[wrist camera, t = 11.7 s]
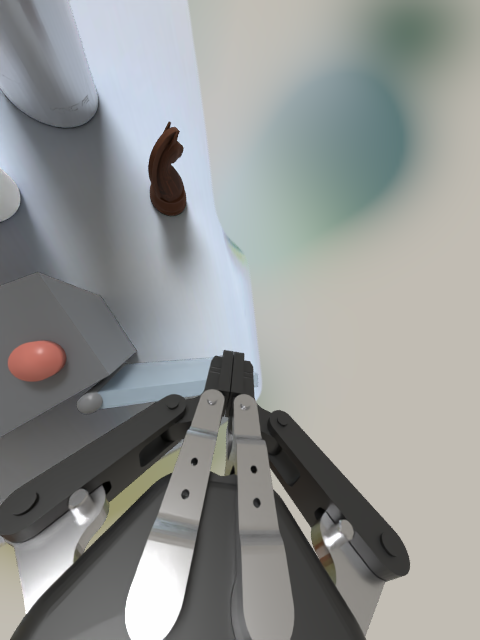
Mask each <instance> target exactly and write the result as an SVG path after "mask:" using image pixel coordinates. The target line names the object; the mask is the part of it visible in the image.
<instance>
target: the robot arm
mask: <svg viewBox="0 0 480 640" xmlns="http://www.w3.org/2000/svg"><path fill="white" fill-rule="evenodd" d="M0 88H1V90H2V91H3V93H4V94H5V95H6V96H7V98H8V99H9V100H10V101H11V102H12V103H13V104H14V105H15V106H16V107H17V108H18V109H20V110H21V111H22V112H24V113H25V114H27V115H28V116H30V117H31V118H33V119H35V120H38V121H40V122H42V123H45V124H48V125H51V126H56V127H63V128H64V127H76V126H80V125H83V124H84V123H86V122H88V121H89V120H90V119H91V118H92V117H93V116H94V114H95V113H96V111H97V107H98V94H97V91H96V87H95V84H94V81H93V78H92V74H91V71H90V68H89V65H88V61H87V58H86V55H85V52H84V48H83V45H82V41H81V38H80V35H79V32H78V29H77V26H76V22H75V19H74V16H73V13H72V10H71V6H70V3H69V0H0ZM233 353H234V355H233ZM253 378H254V375H253V366H252V364H251V362H250V361H244V353H239V352H233V351H227V350H224V352H223V357H220V356H215V357H214V358H213V359H212V360H211V364H210V368H209V372H208V376H207V380H206V384H205V389H204V391H203V393H202V394H201V395H200V396H198V397H196V398H193V399H186V400H185V399H184V398H183V397H182V396H181V395H178V394H171V395H168V396H166V397H164V398H162V399H161V400H159V401H158V402H156V403H154V404H153V405H151V406H150V407H148V408H146V409H145V410H143V411H142V412H140V413H138V414H137V415H135V416H134V417H132V418H130V419H129V420H127V421H126V422H124V423H122V424H121V425H119V426H118V427H116V428H114V429H113V430H111V431H109V432H108V433H106V434H105V435H103V436H101V437H100V438H98V439H97V440H95V441H93V442H92V443H90V444H89V445H87V446H85V447H84V448H82V449H81V450H79V451H77V452H76V453H74V454H73V455H71V456H69V457H68V458H66V459H65V460H63V461H61V462H60V463H58V464H57V465H55V466H53V467H52V468H50V469H49V470H47V471H45V472H44V473H42V474H41V475H39V476H37V477H36V478H34V479H32V480H31V481H29V482H28V483H26V484H24V485H23V486H21V487H20V488H18V489H17V490H16V491H14V492H13V493H12V494H11V495H10V496H9V497H8V498H7V499H6V500H5V501H4V502H3V503H2V505H1V506H0V536H2V537H3V538H4V540H5V541H6V542H7V543H8V544H9V545H11V546H13V547H14V549H15V555H16V560H17V565H18V571H19V577H20V582H21V587H22V593H23V598H24V604H25V609H26V616H25V617H24V618H23V620H22V621H21V623H20V624H19V626H18V627H17V629H16V631H15V632H14V634H13V636H12V637H11V639H10V640H366V638H365V636H366V633H367V630H368V627H369V625H370V622H371V619H372V617H373V614H374V611H375V608H376V606H377V603H378V600H379V597H380V595H381V592H382V589H383V586H384V584H385V582H387V581H390V580H393V579H395V578H398V577H402V576H405V575H406V574H408V572H409V569H410V561H409V556H408V553H407V550H406V548H405V546H404V544H403V542H402V541H401V539H400V537H399V536H398V535H397V533H396V532H395V531H394V530H393V529H392V528H391V526H390V525H389V524H388V523H387V522H386V521H385V520H384V519H383V518H382V517H381V516H380V514H379V513H378V512H377V511H376V510H375V509H374V508H373V507H372V506H371V505H370V503H369V502H368V501H367V500H366V499H365V498H364V497H363V496H362V495H361V493H360V492H358V490H357V489H356V488H355V487H354V486H353V485H352V484H351V483H350V481H349V480H348V479H347V478H346V477H345V476H344V475H343V474H342V473H341V472H340V470H339V469H338V468H337V467H336V466H335V465H334V464H333V463H332V462H331V461H330V459H329V458H328V457H327V456H326V455H325V454H324V453H323V452H322V451H321V450H320V448H319V447H318V446H317V445H316V444H315V443H314V442H313V441H312V440H311V439H310V437H309V436H308V435H307V434H306V433H305V432H304V431H303V430H302V429H301V428H300V427H299V425H298V424H297V423H296V422H295V421H294V420H293V419H292V418H291V417H290V416H289V415H288V414H287V413H286V412H283V411H281V410H277V411H274V412H272V413H270V412H268V411H266V410H264V409H262V408H261V407H260V406H259V405H258V404H257V403H256V401H255V398H254V379H253ZM225 410H226V411H225ZM224 414H225V417H229V418H228V426H227V432H226V433H227V434H226V467H225V476H219V475H217V474H215V473H213V472H211V471H210V469H211V464H212V459H213V454H214V449H215V444H216V440H217V434H218V429H219V426H220V423H221V419H222V416H223V417H224ZM181 439H184V442H183V444H182V447H181V450H180V453H179V456H178V459H177V462H176V464H175V467H174V470H173V473H170V474H168V475H166V476H165V477H163V478H161V479H159V480H158V481H157V482H156V483H154V484H153V485H152V486H151V487H150V488H149V489H148V490H147V491H146V492H145V493H144V494H143V495H142V496H141V497H140V498H139V499H138V500H137V501H136V502H135V503H134V504H133V505H132V506H131V507H130V508H129V509H128V510H127V511H126V512H125V513H124V514H123V515H122V516H121V517H120V518H119V519H118V520H117V521H116V522H115V523H114V524H113V525H112V526H111V527H110V528H109V529H108V530H107V531H106V532H105V533H103V535H102V536H100V537H99V538H98V540H96V541H95V543H94V544H92V545H91V546H90V547H89V548H88V549H87V550H86V552H84V550H85V548H86V546H87V544H88V543H89V541H90V539H91V538H92V537H93V535H94V534H95V533H96V532H97V531H98V530H99V529H100V528H101V526H102V525H103V523H104V522H105V520H106V518H107V515H108V512H109V502H110V501H111V500H112V499H114V498H115V497H116V496H117V495H118V494H119V493H120V492H122V491H123V490H124V489H125V488H126V487H127V486H129V485H130V484H131V483H132V482H133V481H134V480H136V479H137V478H138V477H139V476H140V475H142V474H143V473H144V472H145V471H146V470H147V469H148V468H150V467H151V466H152V465H153V464H154V463H155V462H157V461H158V460H159V459H160V458H161V457H162V456H164V455H165V454H166V453H167V452H168V451H169V450H171V449H172V448H173V447H174V446H175V445H176V444H178V443H179V442H180V441H181ZM270 468H271V470H272V471H273V473H274V474H275V475H276V477H277V478H278V480H279V481H280V483H281V484H282V486H283V487H284V489H285V490H286V492H287V493H288V495H289V496H290V497H291V499H292V500H293V501H294V503H295V505H296V506H297V507H298V509H299V511H300V512H301V513H302V515H303V516H304V518H305V519H306V521H307V522H308V524H309V525H310V527H311V528H312V529H311V540H312V544H313V547H314V549H315V552H316V553H315V552H314V550H313V548H312V547H311V545H310V544H309V542H308V541H307V539H306V537H305V536H304V534H303V532H302V531H301V529H300V527H299V526H298V524H297V523H296V521H295V519H294V518H293V516H292V515H291V513H290V511H289V510H288V508H287V507H286V505H285V503H284V502H283V500H282V499H281V498H280V496H279V495H278V494H277V493H276V492H275V491H274V490H273V487H272V480H271V474H270ZM316 554H317V555H318V557H319V558H318V557H317V555H316ZM319 559H320V560H319Z"/></svg>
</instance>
